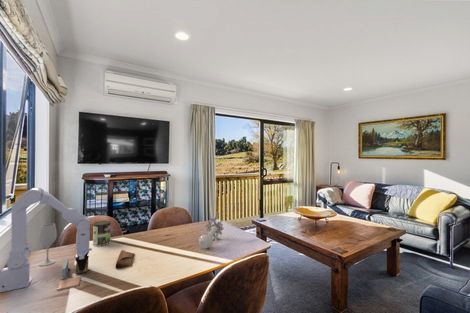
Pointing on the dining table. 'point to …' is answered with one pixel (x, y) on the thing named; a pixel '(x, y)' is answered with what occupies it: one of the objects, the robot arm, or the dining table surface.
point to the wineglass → (47, 239)
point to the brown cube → (83, 270)
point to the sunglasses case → (124, 260)
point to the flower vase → (211, 234)
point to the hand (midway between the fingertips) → (82, 267)
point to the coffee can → (101, 233)
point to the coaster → (68, 283)
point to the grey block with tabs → (65, 270)
